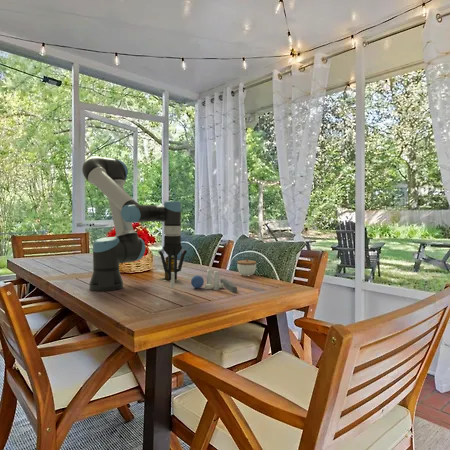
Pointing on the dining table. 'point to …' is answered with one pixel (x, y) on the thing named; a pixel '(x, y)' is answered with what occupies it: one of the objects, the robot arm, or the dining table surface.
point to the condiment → (167, 268)
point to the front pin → (211, 286)
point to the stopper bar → (229, 286)
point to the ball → (197, 281)
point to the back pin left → (209, 276)
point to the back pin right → (216, 280)
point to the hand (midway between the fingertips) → (172, 286)
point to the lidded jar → (246, 267)
